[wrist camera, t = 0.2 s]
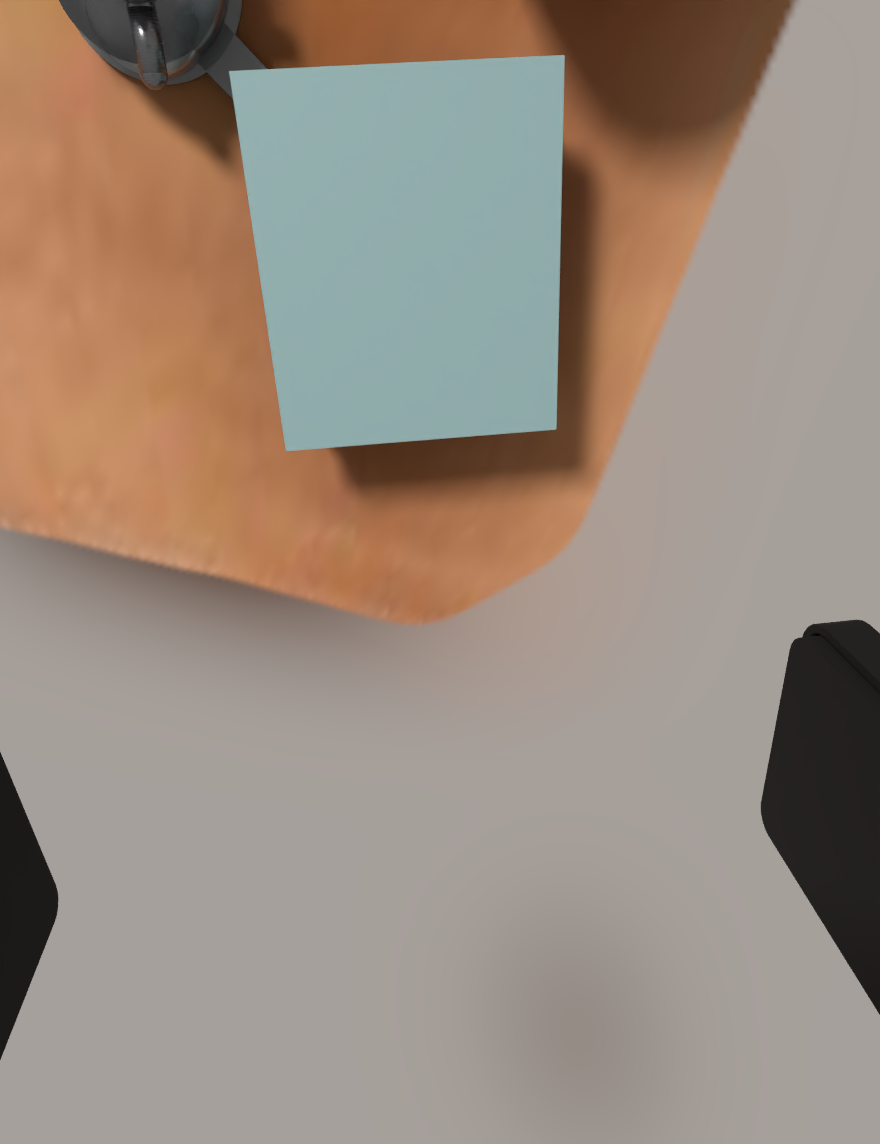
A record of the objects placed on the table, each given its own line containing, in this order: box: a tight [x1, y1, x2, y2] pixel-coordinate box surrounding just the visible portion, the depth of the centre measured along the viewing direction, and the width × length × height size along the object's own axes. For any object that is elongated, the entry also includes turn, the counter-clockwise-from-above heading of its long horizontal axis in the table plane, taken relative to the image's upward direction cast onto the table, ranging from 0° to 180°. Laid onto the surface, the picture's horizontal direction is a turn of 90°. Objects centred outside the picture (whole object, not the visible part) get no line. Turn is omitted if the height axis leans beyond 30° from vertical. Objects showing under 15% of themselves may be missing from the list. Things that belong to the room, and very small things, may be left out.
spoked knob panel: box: [78, 0, 565, 451], centre depth 31 cm, size 22×18×5 cm
